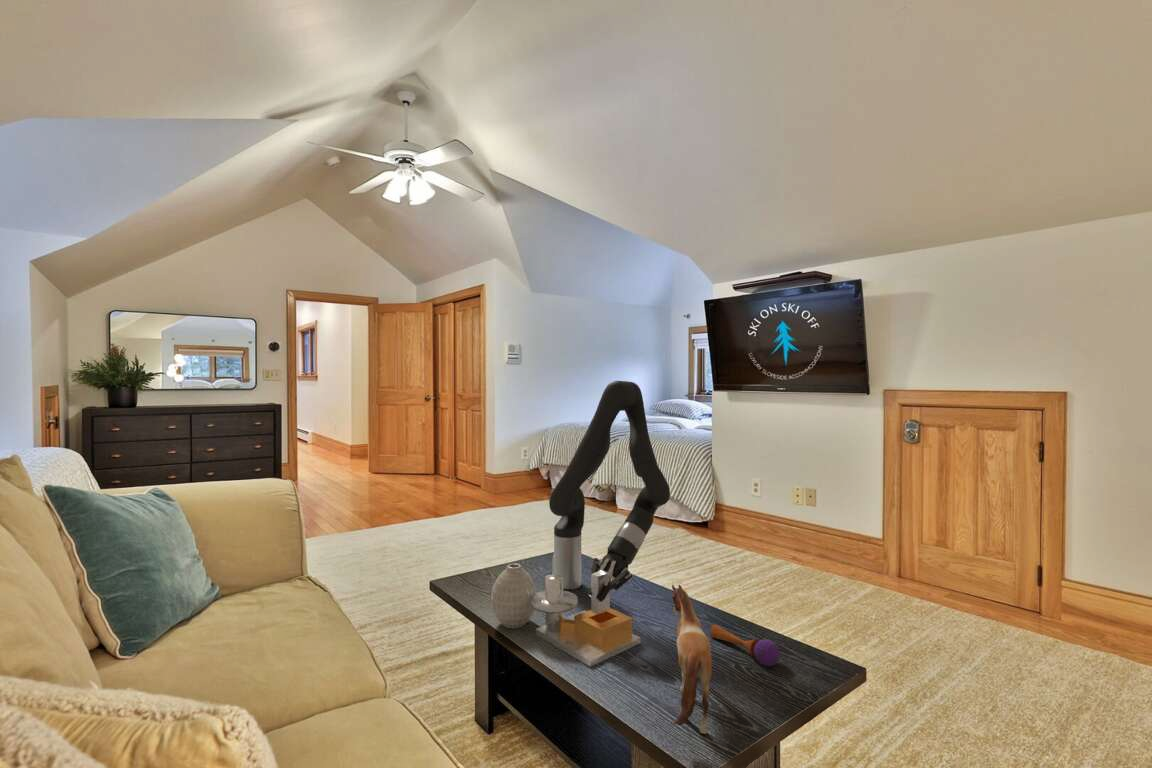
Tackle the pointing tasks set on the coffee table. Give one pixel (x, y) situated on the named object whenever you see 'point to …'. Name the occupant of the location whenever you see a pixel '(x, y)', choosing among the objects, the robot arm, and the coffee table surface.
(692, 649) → the horse figurine
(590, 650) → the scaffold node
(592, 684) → the coffee table surface
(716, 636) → the kendama
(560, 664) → the coffee table surface
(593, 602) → the grey rectangular peg
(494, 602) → the vase
